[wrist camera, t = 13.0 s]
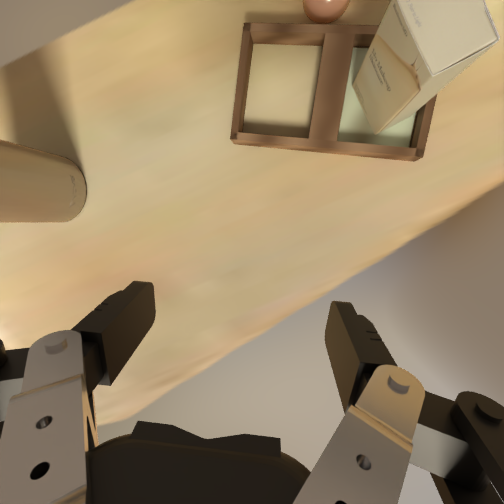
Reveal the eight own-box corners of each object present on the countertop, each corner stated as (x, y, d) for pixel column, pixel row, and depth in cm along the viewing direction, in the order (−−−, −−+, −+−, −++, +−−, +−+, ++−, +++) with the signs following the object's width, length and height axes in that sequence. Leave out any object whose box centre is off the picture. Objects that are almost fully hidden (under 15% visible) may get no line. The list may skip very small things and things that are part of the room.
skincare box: (350, 86, 28) (388, -12, 17) (390, 62, 28) (461, -59, 16) (375, 137, 29) (430, 78, 17) (415, 116, 28) (504, 37, 16)
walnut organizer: (234, 144, 32) (230, 139, 30) (247, 35, 30) (244, 22, 28) (414, 161, 28) (423, 157, 27) (440, 41, 27) (451, 27, 25)
